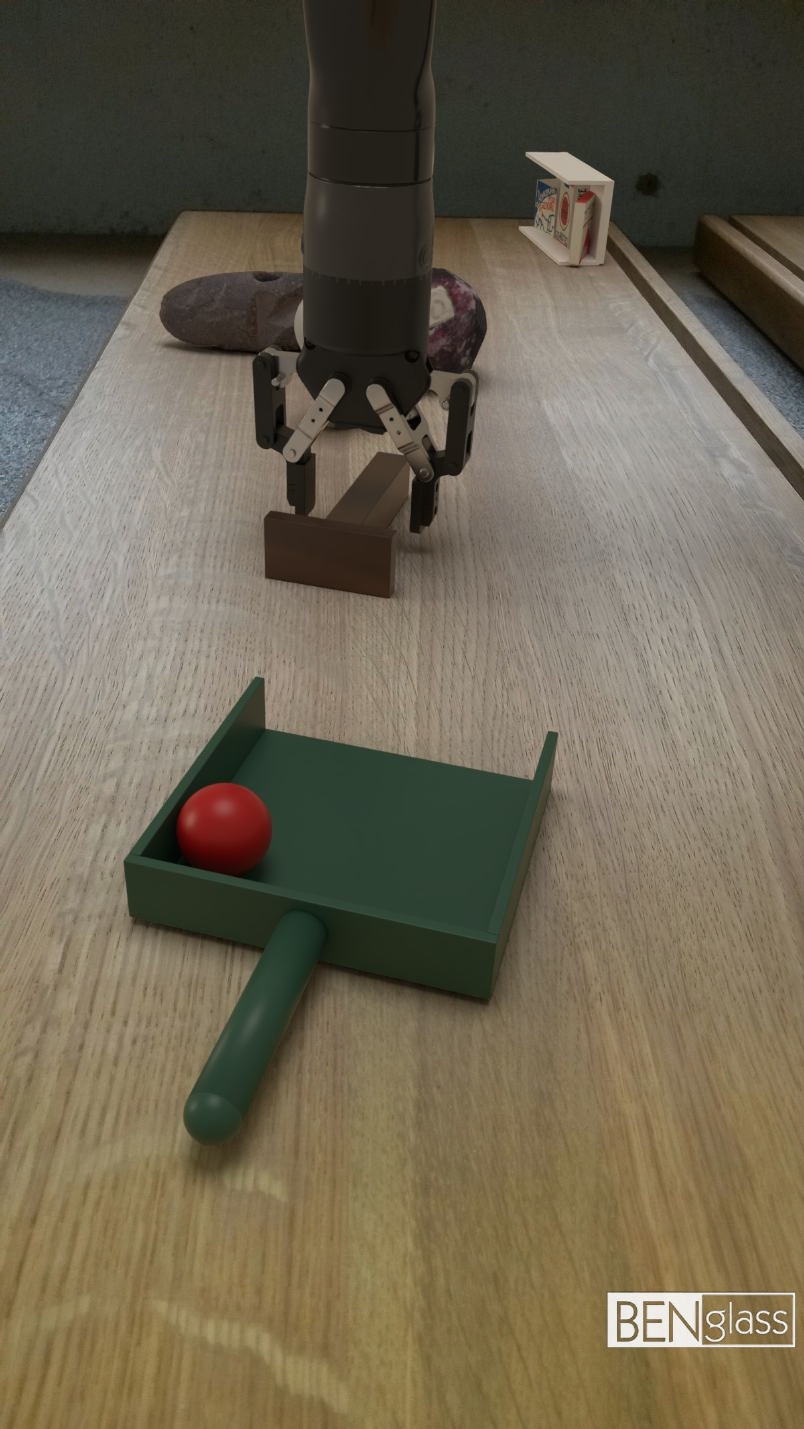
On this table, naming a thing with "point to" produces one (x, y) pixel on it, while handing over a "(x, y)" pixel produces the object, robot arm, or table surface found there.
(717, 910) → the table surface
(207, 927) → the dustpan
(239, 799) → the red billiard ball
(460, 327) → the mineral specimen
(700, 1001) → the table surface
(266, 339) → the perforated stone tool
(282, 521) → the wooden t-shaped pusher
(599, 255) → the cigarette display
